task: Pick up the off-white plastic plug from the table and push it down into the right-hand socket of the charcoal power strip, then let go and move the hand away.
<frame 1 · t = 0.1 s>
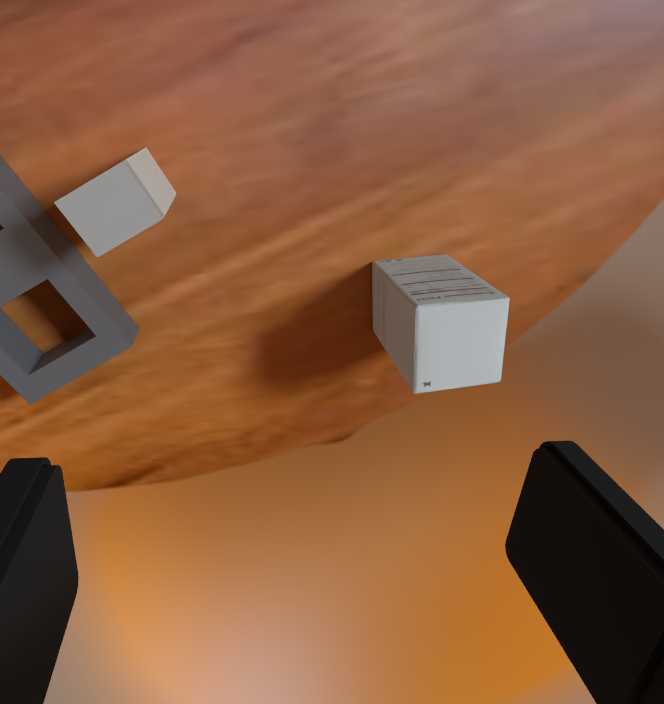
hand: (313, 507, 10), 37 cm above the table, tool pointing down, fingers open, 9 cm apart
supplement box: (407, 291, 50), on the table
plug: (134, 186, 41), on the table
power strip: (9, 261, 42), on the table
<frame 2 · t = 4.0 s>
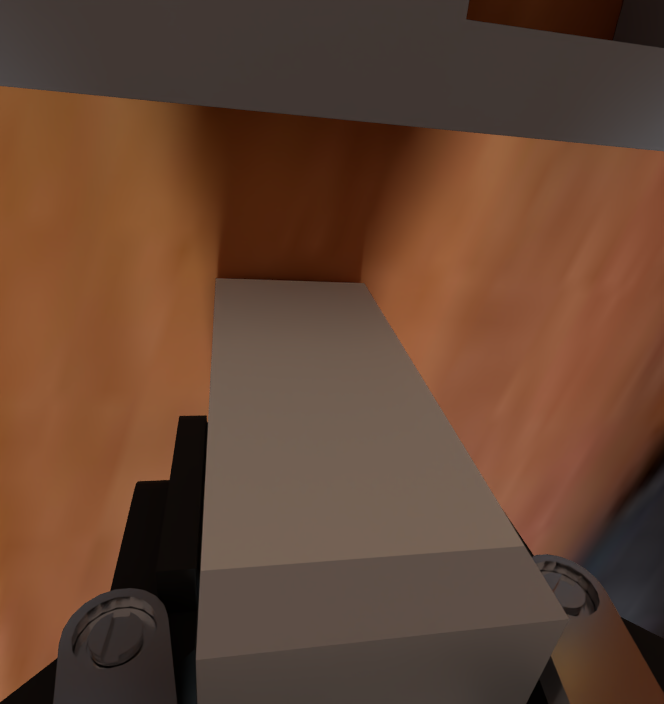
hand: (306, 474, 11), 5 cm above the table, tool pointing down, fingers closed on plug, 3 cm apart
plug: (286, 361, 15), on the table, touching gripper
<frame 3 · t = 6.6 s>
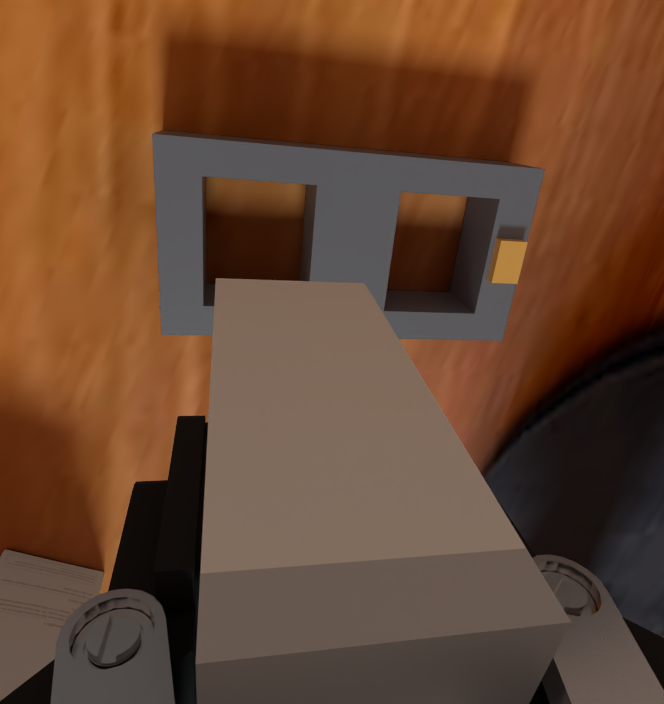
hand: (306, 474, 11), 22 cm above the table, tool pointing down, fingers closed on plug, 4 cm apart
supplement box: (42, 590, 39), on the table
plug: (286, 361, 15), point 17 cm above the table, touching gripper
power strip: (338, 235, 31), on the table
when the fingers open (6 cm above the table, at t = 9.6 s): plug drops 2 cm, on the table.
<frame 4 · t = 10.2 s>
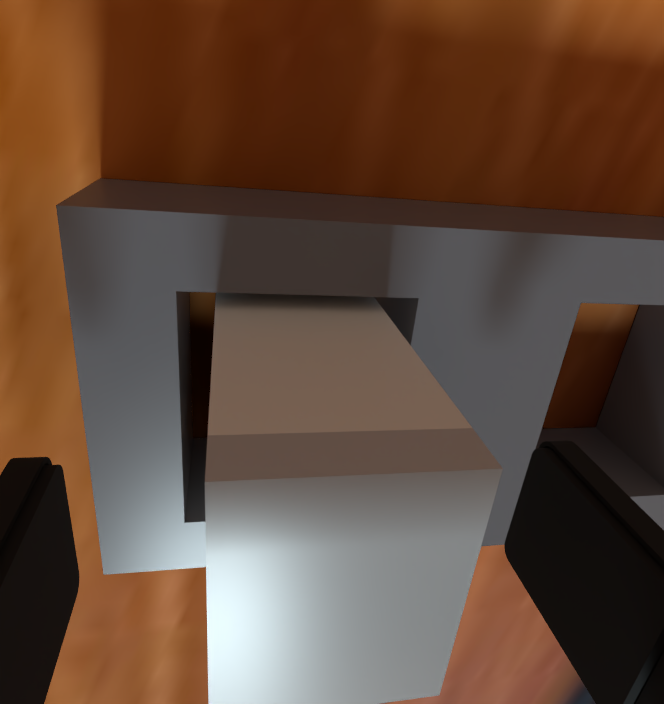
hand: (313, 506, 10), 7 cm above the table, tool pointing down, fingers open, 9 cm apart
plug: (281, 338, 17), on the table
power strip: (425, 351, 18), on the table
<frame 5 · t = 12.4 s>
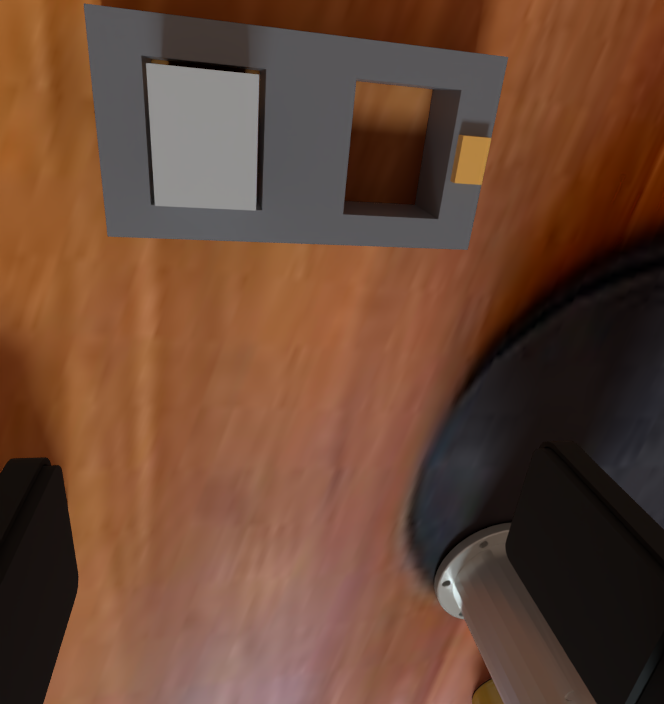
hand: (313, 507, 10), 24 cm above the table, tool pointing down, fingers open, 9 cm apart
plug: (208, 124, 29), on the table
plant pot: (495, 689, 63), on the table
power strip: (296, 139, 30), on the table
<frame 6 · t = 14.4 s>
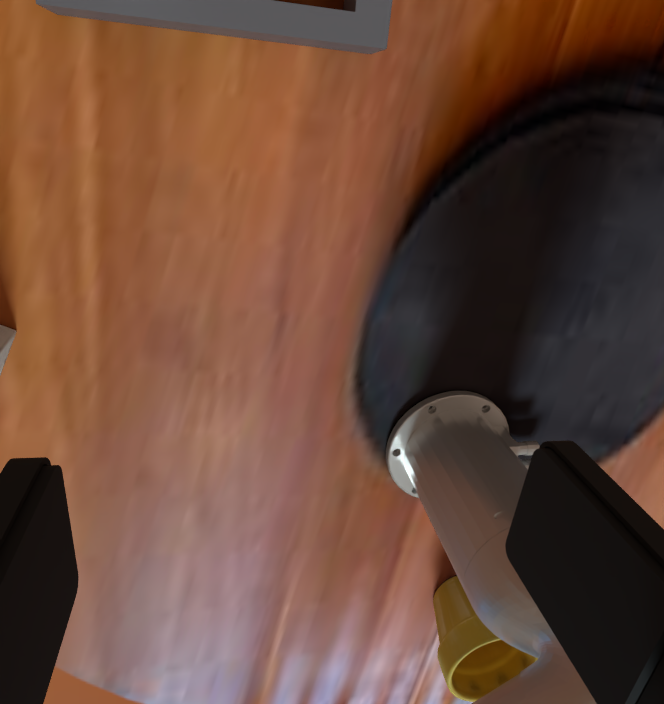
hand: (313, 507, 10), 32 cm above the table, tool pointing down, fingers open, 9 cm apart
plant pot: (457, 591, 63), on the table
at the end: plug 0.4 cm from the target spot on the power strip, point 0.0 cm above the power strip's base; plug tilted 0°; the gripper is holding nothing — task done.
